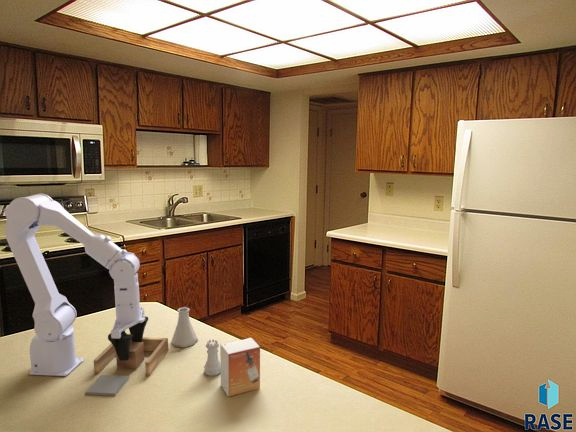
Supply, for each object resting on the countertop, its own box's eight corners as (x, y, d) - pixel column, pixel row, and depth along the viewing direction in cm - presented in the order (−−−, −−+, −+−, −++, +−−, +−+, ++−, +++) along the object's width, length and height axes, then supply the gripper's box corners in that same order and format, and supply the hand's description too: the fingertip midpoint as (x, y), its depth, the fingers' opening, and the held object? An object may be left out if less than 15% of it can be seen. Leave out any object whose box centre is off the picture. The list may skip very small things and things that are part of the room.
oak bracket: (94, 373, 99) (93, 360, 99) (119, 348, 112) (118, 336, 111) (149, 375, 98) (149, 362, 98) (168, 349, 111) (167, 338, 111)
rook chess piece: (218, 377, 98) (217, 347, 97) (201, 375, 99) (200, 345, 98) (224, 368, 102) (224, 338, 101) (208, 366, 103) (207, 336, 102)
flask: (202, 340, 117) (201, 308, 116) (184, 350, 111) (182, 316, 110) (185, 334, 121) (184, 302, 119) (166, 343, 115) (164, 310, 113)
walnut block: (117, 369, 101) (115, 350, 101) (126, 359, 106) (125, 341, 106) (136, 370, 101) (135, 351, 100) (144, 359, 106) (143, 342, 105)
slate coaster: (85, 394, 91) (85, 391, 91) (101, 377, 98) (101, 374, 98) (115, 395, 90) (115, 393, 90) (129, 378, 97) (129, 376, 97)
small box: (228, 398, 90) (227, 354, 88) (220, 385, 95) (219, 343, 93) (260, 388, 94) (260, 346, 92) (251, 376, 99) (251, 336, 97)
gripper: (130, 313, 94) (133, 367, 96) (154, 292, 108) (156, 339, 110) (100, 312, 94) (104, 366, 96) (128, 291, 108) (131, 338, 111)
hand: (130, 352), depth 103 cm, fingers open, 7 cm apart
